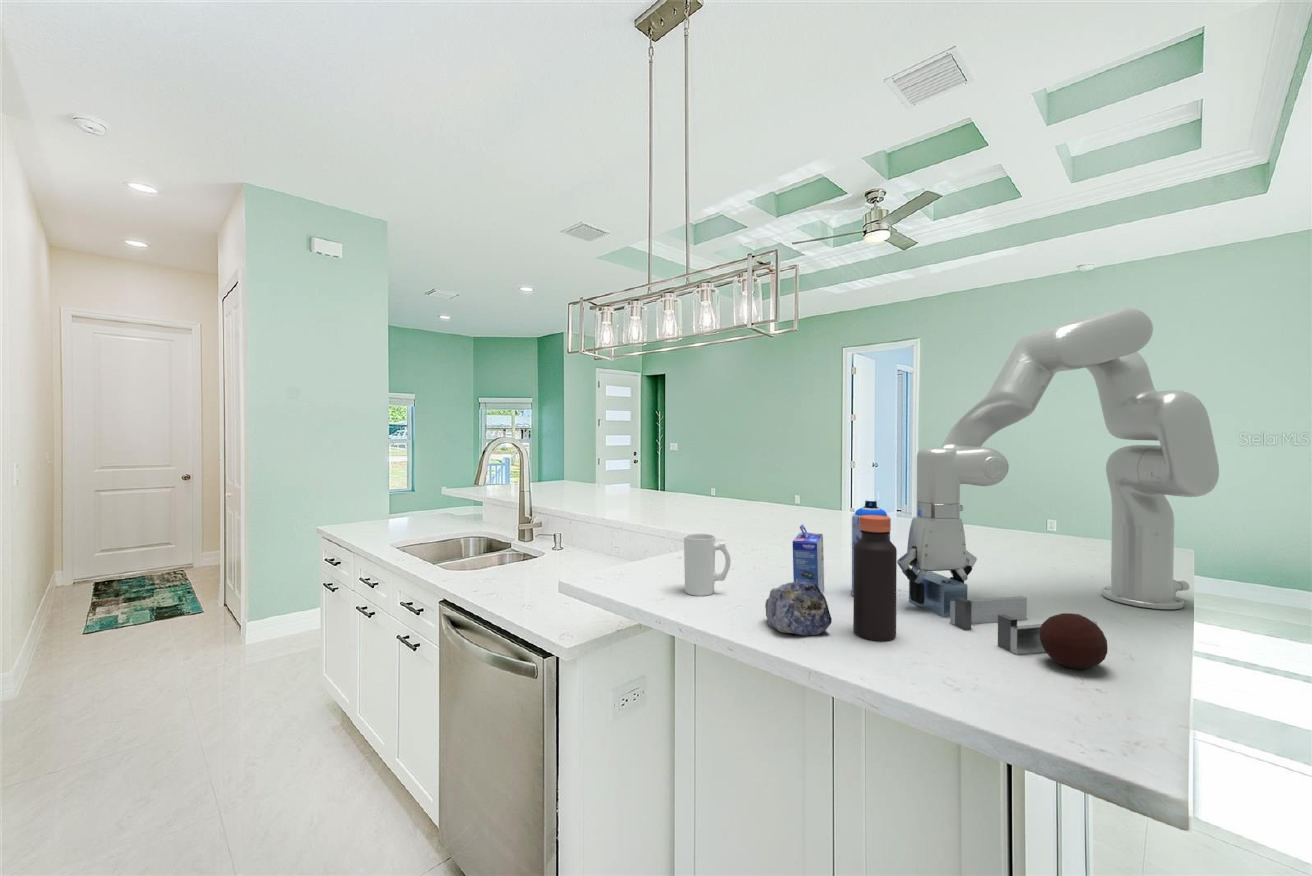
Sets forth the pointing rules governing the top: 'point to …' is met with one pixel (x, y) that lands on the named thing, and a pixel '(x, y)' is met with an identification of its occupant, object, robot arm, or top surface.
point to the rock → (798, 609)
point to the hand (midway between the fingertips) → (937, 600)
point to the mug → (702, 563)
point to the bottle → (875, 580)
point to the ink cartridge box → (808, 558)
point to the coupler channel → (1000, 621)
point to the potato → (1073, 641)
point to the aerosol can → (868, 509)
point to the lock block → (940, 593)
